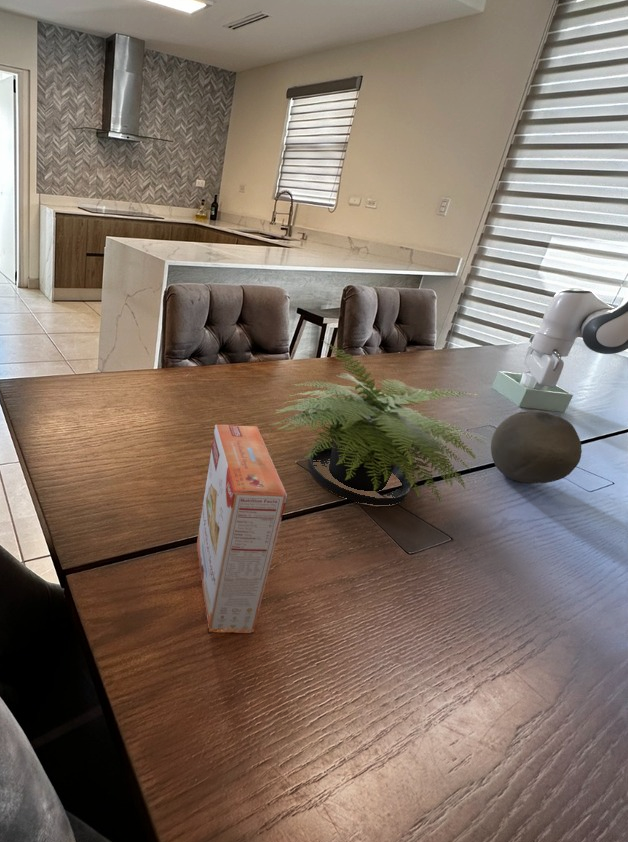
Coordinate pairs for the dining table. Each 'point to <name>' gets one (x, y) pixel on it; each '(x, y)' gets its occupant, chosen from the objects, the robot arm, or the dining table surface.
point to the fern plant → (375, 436)
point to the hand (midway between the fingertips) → (531, 389)
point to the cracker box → (238, 526)
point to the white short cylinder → (529, 381)
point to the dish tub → (531, 393)
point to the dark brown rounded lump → (535, 447)
